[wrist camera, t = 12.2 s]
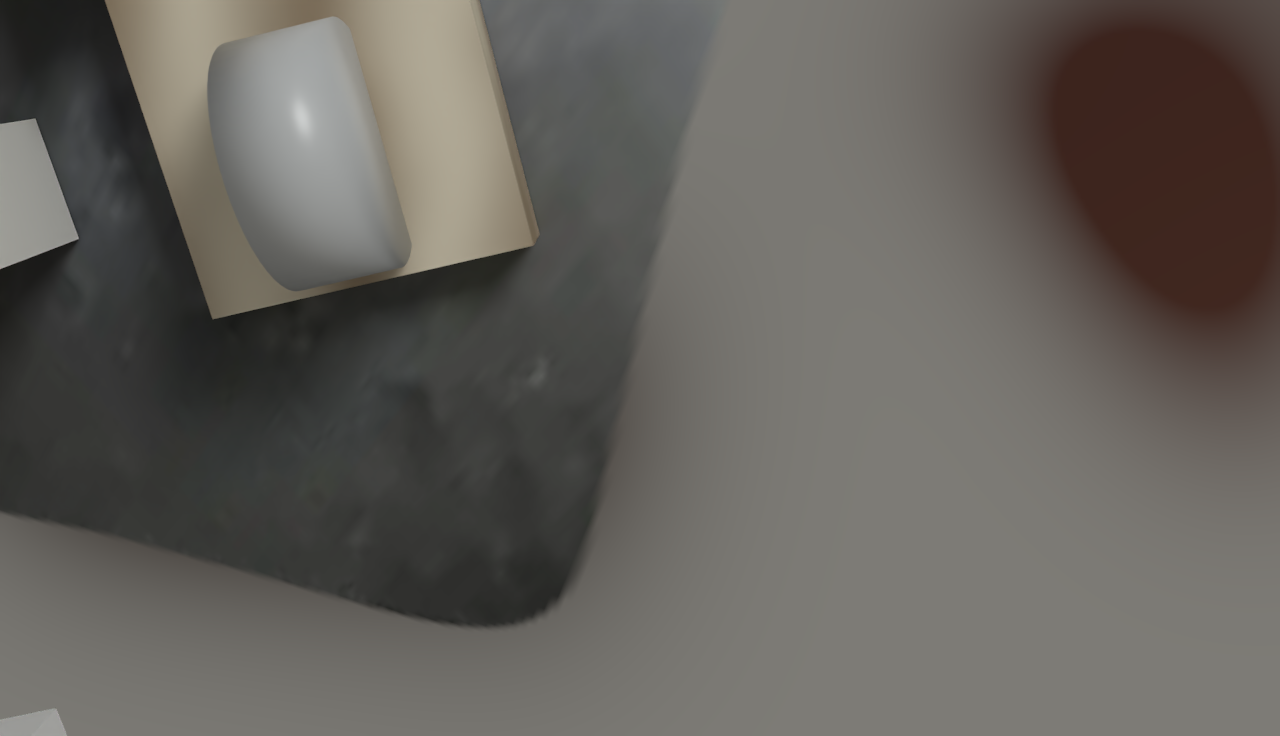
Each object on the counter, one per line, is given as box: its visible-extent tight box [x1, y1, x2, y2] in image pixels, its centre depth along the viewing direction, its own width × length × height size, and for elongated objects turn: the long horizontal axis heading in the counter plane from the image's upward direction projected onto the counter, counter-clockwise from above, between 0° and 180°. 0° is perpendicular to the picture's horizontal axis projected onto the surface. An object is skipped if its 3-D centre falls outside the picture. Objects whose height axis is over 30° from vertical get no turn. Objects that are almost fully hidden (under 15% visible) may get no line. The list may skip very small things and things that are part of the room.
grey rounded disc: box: [207, 16, 412, 291], centre depth 34 cm, size 3×7×7 cm, turn 13°
